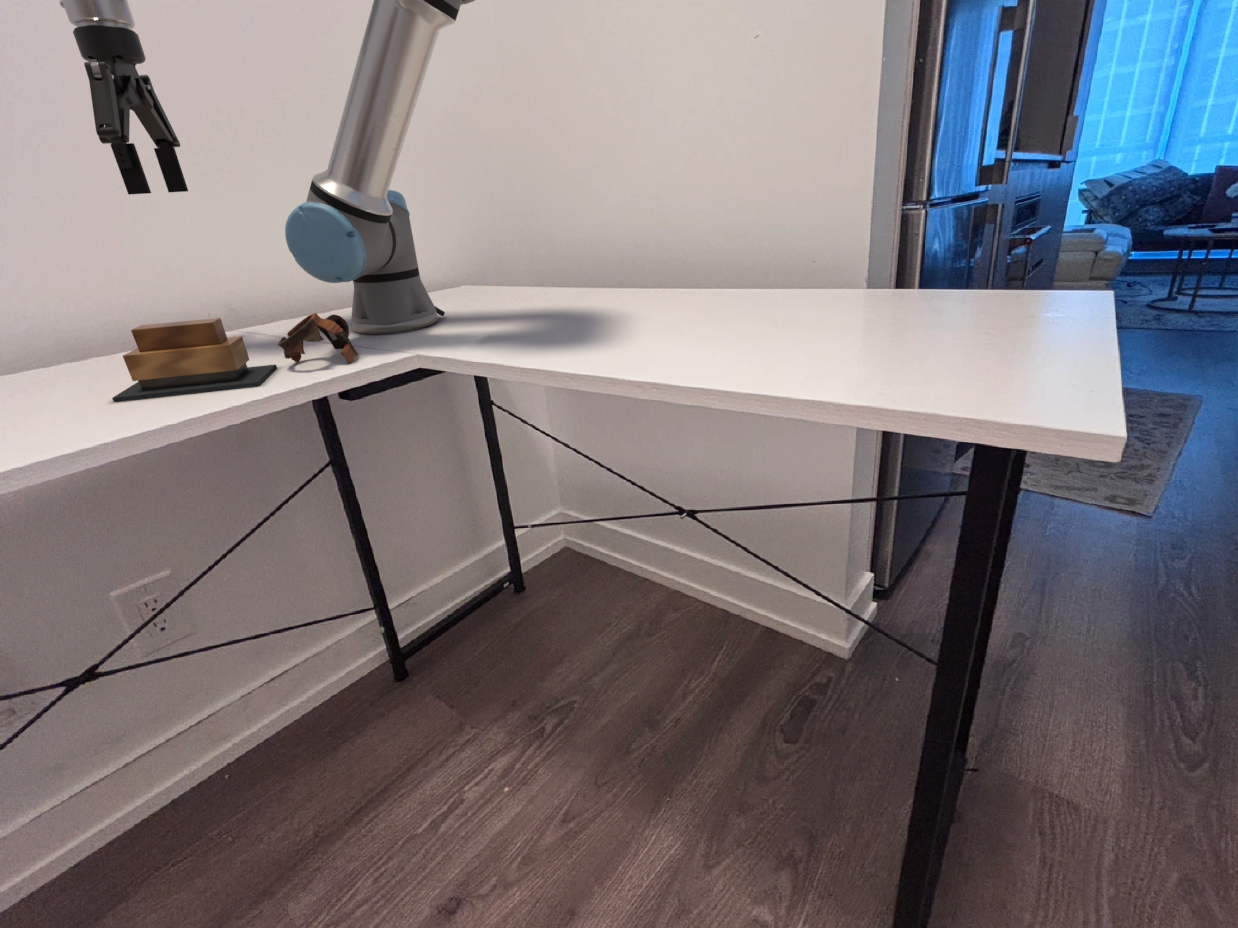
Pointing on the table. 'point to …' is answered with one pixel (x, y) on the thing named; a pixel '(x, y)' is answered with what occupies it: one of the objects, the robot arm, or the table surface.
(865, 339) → the table surface
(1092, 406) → the table surface
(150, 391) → the mat
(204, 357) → the brush
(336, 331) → the brown black curved piece
